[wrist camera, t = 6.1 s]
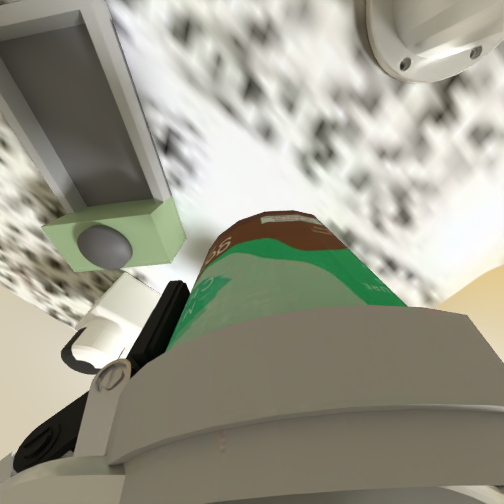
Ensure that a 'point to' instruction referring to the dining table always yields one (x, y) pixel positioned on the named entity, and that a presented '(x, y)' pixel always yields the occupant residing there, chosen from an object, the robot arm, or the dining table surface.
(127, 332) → the medicine bottle
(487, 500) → the robot arm
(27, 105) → the shallow rimmed tray
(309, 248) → the food container
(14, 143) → the dining table surface
